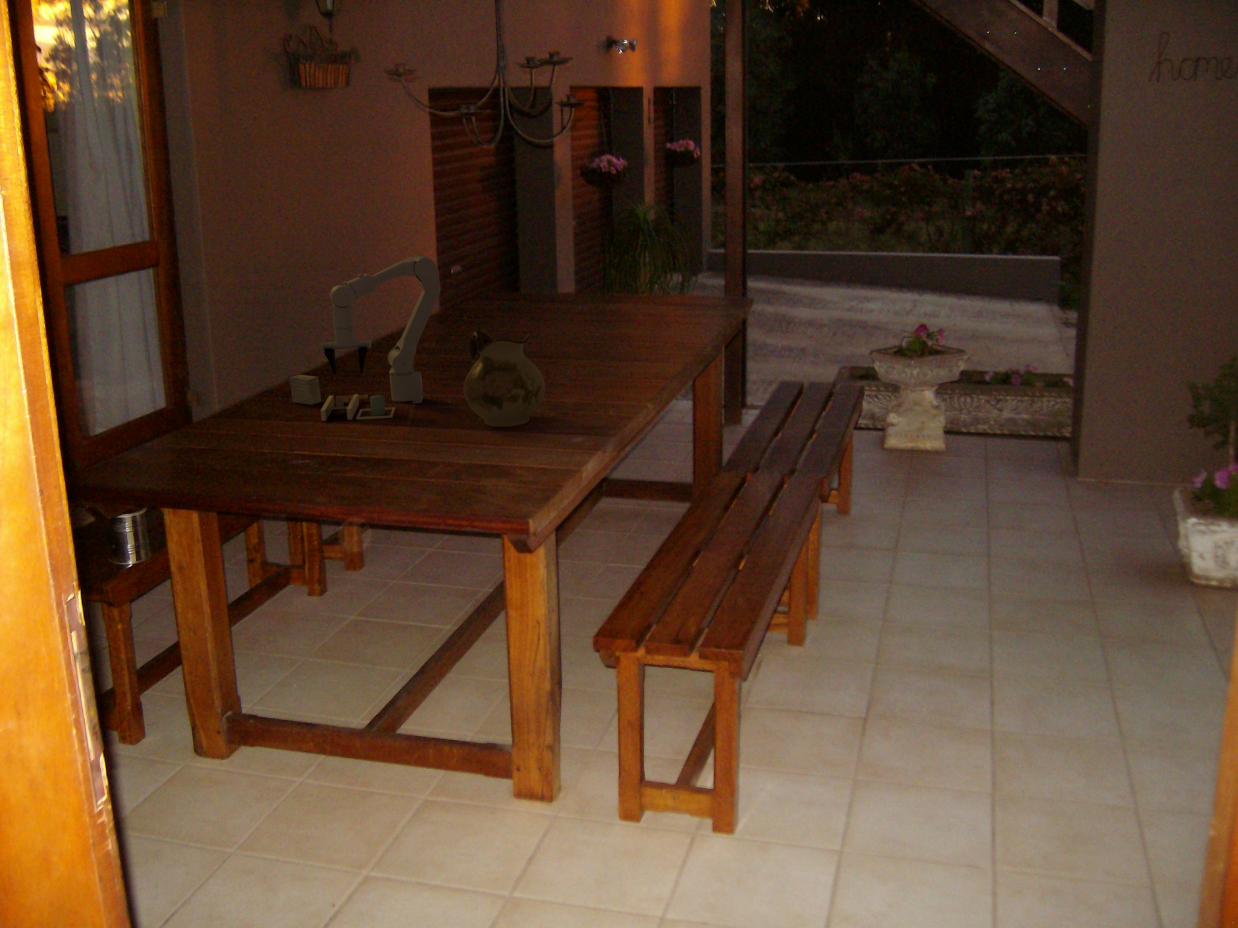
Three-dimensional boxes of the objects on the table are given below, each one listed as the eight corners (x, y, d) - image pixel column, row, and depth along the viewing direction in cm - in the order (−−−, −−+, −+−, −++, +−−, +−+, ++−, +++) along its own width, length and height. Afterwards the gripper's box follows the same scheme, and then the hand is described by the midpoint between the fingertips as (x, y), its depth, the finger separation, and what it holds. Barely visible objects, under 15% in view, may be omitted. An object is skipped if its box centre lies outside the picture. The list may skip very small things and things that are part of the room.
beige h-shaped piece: (359, 407, 365) (358, 394, 364) (352, 422, 348) (350, 408, 347) (330, 408, 364) (329, 395, 363) (321, 424, 347) (320, 410, 346)
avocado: (380, 413, 355) (380, 394, 353) (387, 415, 352) (387, 397, 350) (368, 415, 352) (367, 396, 351) (375, 418, 349) (374, 399, 348)
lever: (368, 408, 368) (367, 394, 368) (359, 407, 348) (358, 393, 348) (337, 409, 367) (336, 396, 367) (327, 409, 348) (326, 395, 348)
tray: (395, 412, 358) (395, 407, 357) (392, 420, 348) (392, 415, 348) (360, 413, 357) (360, 409, 357) (356, 422, 348) (356, 417, 347)
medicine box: (322, 405, 369) (319, 376, 367) (311, 408, 366) (308, 379, 363) (303, 402, 374) (300, 374, 371) (292, 405, 370) (289, 377, 367)
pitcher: (534, 432, 331) (529, 340, 324) (450, 431, 335) (444, 340, 328) (555, 412, 352) (550, 326, 345) (476, 411, 356) (470, 326, 349)
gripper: (370, 323, 362) (374, 368, 366) (320, 326, 361) (325, 371, 365) (368, 328, 356) (372, 374, 360) (317, 330, 355) (321, 376, 359)
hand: (348, 373), depth 362 cm, fingers open, 7 cm apart
